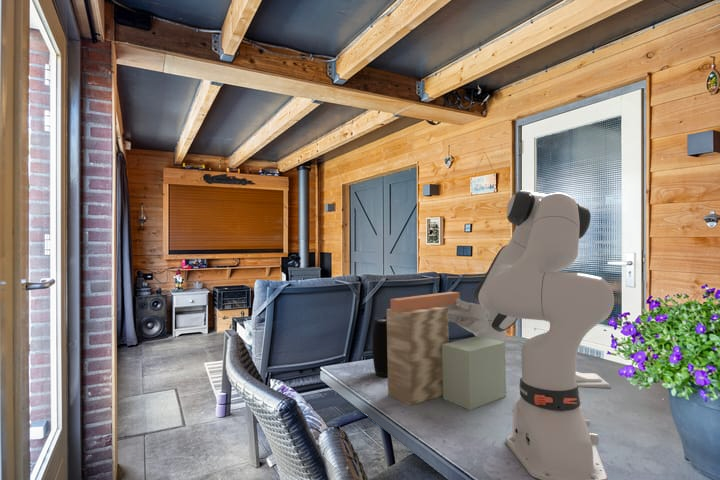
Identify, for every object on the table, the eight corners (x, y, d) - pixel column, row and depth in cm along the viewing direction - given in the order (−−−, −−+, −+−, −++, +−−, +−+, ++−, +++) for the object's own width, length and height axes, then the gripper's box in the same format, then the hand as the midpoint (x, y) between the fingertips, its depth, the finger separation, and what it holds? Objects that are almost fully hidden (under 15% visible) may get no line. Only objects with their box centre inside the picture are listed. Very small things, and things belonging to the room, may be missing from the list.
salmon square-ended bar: (451, 302, 134) (451, 291, 134) (459, 303, 131) (459, 292, 131) (390, 310, 119) (390, 299, 119) (398, 312, 116) (398, 300, 116)
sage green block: (478, 386, 128) (477, 336, 128) (506, 396, 119) (505, 342, 119) (443, 398, 118) (442, 344, 119) (470, 409, 110) (468, 351, 110)
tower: (426, 383, 131) (425, 303, 131) (449, 392, 123) (448, 307, 123) (388, 394, 122) (386, 309, 122) (410, 405, 114) (408, 313, 114)
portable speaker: (400, 378, 137) (399, 320, 137) (373, 378, 137) (372, 321, 137) (398, 369, 146) (397, 315, 146) (372, 370, 146) (371, 316, 146)
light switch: (555, 366, 138) (596, 365, 135) (556, 378, 138) (597, 378, 135) (566, 377, 127) (610, 376, 125) (567, 390, 127) (611, 390, 125)
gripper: (493, 330, 127) (467, 312, 120) (445, 321, 144) (420, 304, 137) (499, 312, 129) (474, 293, 122) (451, 304, 146) (426, 288, 139)
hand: (445, 299), depth 130 cm, fingers open, 8 cm apart
